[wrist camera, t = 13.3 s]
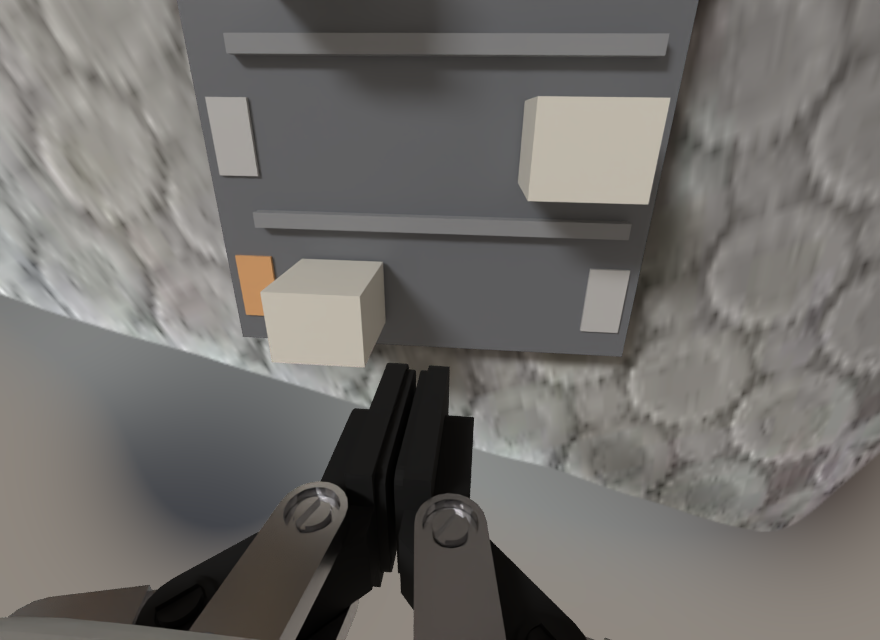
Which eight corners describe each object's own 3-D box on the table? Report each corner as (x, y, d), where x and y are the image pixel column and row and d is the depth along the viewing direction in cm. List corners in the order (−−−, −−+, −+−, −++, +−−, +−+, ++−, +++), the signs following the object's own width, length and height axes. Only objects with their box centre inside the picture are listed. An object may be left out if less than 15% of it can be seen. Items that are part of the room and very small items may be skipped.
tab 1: (383, 261, 21) (359, 296, 17) (385, 321, 22) (364, 367, 18) (302, 258, 21) (260, 292, 17) (309, 318, 23) (271, 362, 19)
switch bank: (710, -157, 16) (750, -205, 13) (611, 338, 24) (625, 362, 22) (178, -143, 17) (130, -183, 15) (259, 321, 26) (237, 341, 23)
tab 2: (626, 101, 17) (670, 97, 13) (612, 185, 19) (648, 204, 15) (524, 100, 18) (537, 96, 14) (517, 182, 19) (527, 200, 15)
